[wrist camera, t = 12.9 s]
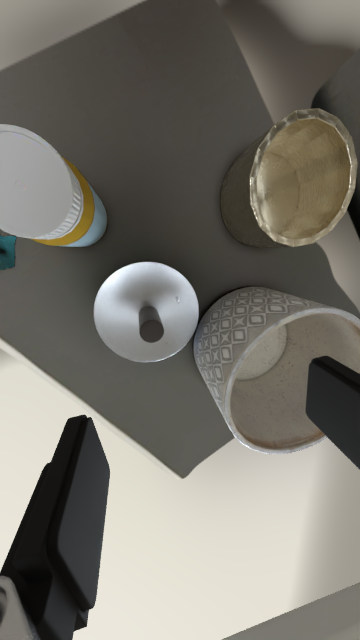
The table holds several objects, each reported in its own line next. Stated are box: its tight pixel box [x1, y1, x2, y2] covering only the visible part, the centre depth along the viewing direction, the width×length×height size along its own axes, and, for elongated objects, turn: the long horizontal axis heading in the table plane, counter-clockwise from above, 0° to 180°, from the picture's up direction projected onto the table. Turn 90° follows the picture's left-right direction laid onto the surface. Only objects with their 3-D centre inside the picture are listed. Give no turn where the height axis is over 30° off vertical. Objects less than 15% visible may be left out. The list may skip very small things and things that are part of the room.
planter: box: [193, 287, 360, 454], centre depth 31 cm, size 19×19×14 cm
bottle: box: [0, 124, 107, 247], centre depth 20 cm, size 7×7×15 cm
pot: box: [220, 109, 357, 248], centre depth 27 cm, size 13×13×8 cm
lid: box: [93, 261, 199, 362], centre depth 26 cm, size 14×14×7 cm
